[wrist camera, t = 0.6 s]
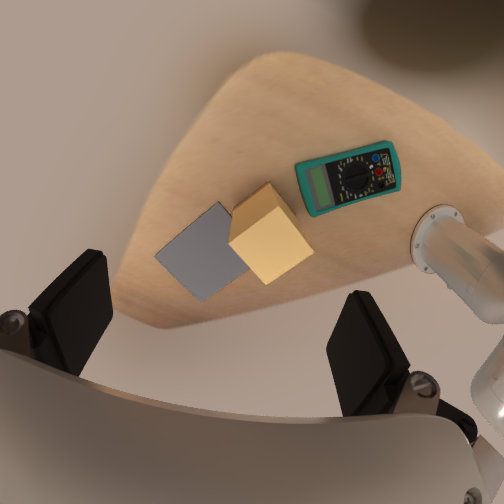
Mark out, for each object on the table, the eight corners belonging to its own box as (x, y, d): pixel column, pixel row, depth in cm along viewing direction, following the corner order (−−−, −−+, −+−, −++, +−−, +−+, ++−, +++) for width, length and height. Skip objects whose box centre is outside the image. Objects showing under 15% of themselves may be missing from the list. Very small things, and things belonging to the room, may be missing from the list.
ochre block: (295, 214, 38) (314, 252, 27) (260, 239, 39) (266, 285, 28) (268, 180, 36) (278, 205, 25) (233, 207, 37) (228, 243, 26)
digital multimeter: (396, 186, 36) (406, 190, 34) (306, 213, 38) (311, 220, 35) (387, 138, 33) (397, 140, 31) (291, 163, 35) (295, 166, 32)
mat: (265, 255, 40) (265, 257, 40) (201, 300, 44) (201, 302, 43) (218, 201, 37) (218, 202, 36) (154, 255, 40) (154, 256, 40)
